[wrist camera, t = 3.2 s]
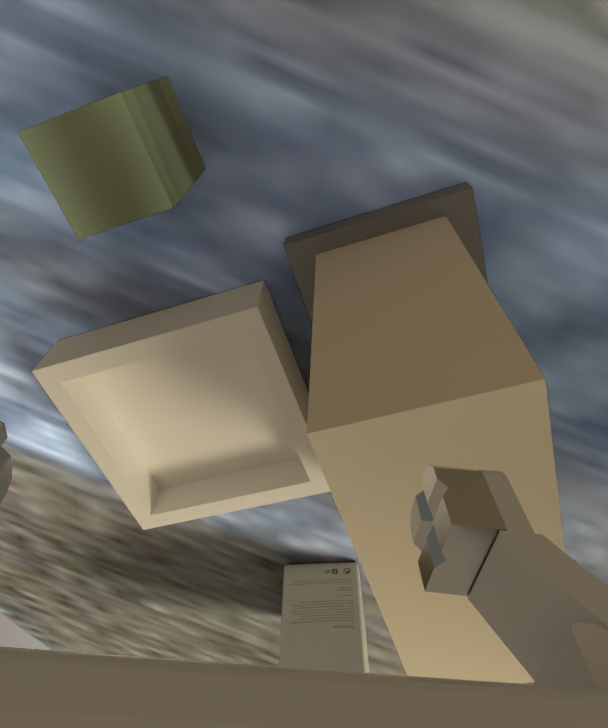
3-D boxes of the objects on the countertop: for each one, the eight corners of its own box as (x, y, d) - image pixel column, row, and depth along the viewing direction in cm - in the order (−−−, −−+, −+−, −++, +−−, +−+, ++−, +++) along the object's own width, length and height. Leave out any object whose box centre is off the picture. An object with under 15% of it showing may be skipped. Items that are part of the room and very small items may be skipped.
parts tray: (264, 279, 31) (257, 306, 28) (333, 454, 38) (333, 490, 35) (57, 341, 34) (31, 371, 31) (156, 493, 41) (143, 529, 38)
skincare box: (283, 561, 45) (265, 785, 32) (363, 559, 44) (378, 785, 31) (294, 620, 49) (281, 838, 36) (366, 619, 49) (381, 840, 36)
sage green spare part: (167, 76, 26) (120, 91, 20) (205, 168, 28) (172, 207, 22) (86, 107, 27) (17, 132, 21) (129, 195, 29) (78, 239, 23)
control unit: (467, 181, 28) (600, 335, 14) (509, 438, 37) (616, 684, 23) (285, 238, 30) (249, 420, 16) (367, 468, 39) (389, 711, 25)
